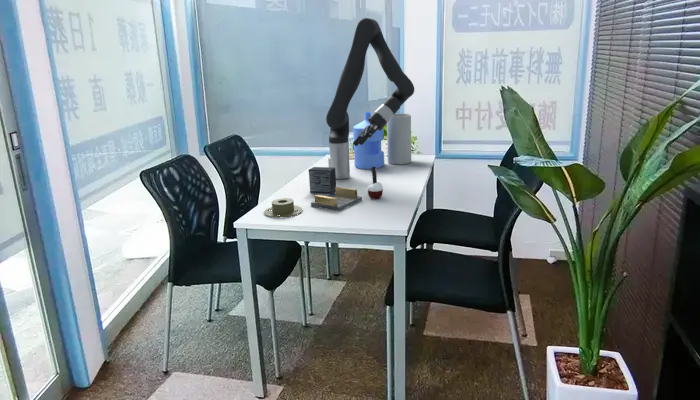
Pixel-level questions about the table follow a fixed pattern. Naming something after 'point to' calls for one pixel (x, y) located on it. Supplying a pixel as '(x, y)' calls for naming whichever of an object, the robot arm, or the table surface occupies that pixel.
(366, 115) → the water jug
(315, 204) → the plate
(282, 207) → the flange
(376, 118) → the robot arm
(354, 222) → the table surface
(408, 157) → the cylinder vase
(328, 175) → the small box
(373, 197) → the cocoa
